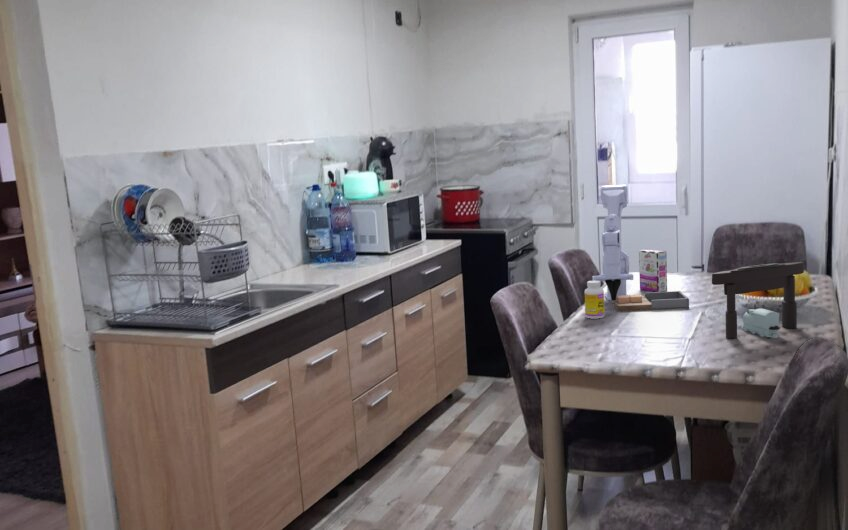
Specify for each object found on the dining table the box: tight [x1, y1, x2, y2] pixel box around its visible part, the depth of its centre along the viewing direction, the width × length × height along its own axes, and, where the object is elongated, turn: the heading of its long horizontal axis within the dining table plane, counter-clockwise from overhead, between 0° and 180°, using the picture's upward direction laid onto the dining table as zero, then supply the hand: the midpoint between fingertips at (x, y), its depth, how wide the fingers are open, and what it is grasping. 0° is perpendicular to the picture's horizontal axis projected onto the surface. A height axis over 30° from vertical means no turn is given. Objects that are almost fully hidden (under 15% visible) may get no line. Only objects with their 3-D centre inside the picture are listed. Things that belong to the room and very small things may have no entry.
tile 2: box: [628, 294, 643, 302], centre depth 285 cm, size 4×4×2 cm
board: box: [611, 296, 653, 312], centre depth 285 cm, size 14×12×2 cm
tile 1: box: [617, 294, 630, 303], centre depth 285 cm, size 4×4×2 cm
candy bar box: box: [638, 248, 668, 293], centre depth 309 cm, size 11×5×16 cm, turn 25°
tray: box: [644, 290, 690, 311], centre depth 284 cm, size 14×13×4 cm
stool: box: [711, 261, 805, 339], centre depth 237 cm, size 16×21×33 cm
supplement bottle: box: [584, 280, 605, 320], centre depth 272 cm, size 7×7×13 cm
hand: (613, 299), depth 286 cm, fingers closed
